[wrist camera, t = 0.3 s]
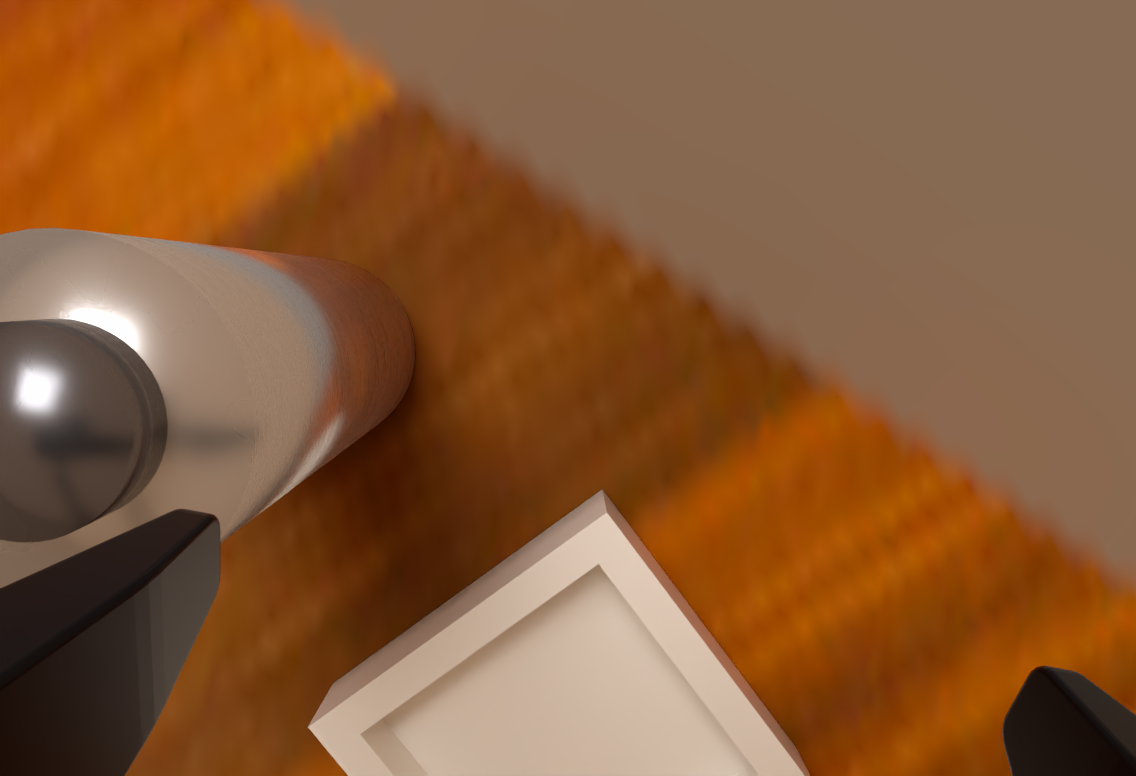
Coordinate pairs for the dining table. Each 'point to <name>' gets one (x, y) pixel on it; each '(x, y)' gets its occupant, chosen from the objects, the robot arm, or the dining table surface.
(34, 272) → the metal water bottle
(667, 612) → the serving tray
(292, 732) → the dining table surface
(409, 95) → the dining table surface
